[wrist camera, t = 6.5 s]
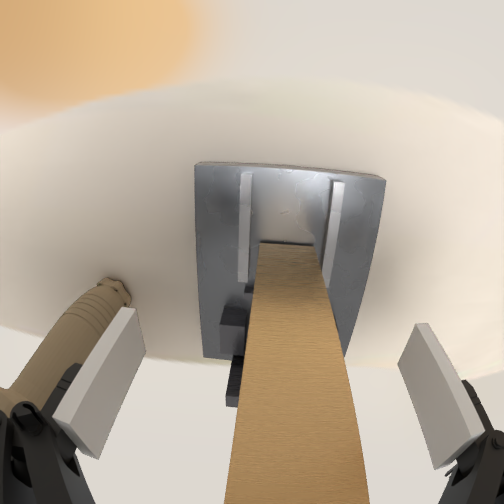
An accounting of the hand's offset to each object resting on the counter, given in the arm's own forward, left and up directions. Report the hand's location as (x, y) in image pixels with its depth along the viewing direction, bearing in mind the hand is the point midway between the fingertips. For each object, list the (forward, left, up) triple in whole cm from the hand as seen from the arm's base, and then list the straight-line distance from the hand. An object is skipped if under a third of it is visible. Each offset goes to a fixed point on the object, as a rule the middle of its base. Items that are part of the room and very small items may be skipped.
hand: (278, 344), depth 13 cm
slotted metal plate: (+1, 0, -8) cm, 8 cm away
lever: (0, +1, -6) cm, 6 cm away
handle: (-11, -8, -8) cm, 16 cm away
